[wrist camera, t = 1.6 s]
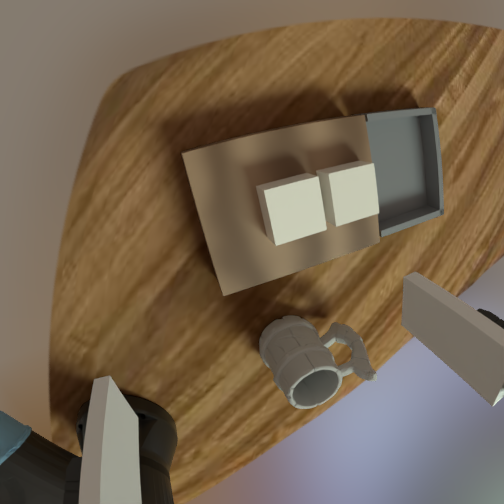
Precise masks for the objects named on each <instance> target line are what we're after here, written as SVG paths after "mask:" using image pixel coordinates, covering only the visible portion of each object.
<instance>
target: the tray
mask: <svg viewBox="0 0 504 504" xmlns="http://www.w3.org/2000/svg"><path fill="white" fill-rule="evenodd" d="M355 115H365V121H366V127H367V133H368V139H369V145H370V152H371V159H372V163H374V168H375V176H376V184H377V194H378V204H379V213H378V224H379V236H380V237H384V236H386V235H389V234H392V233H395V232H397V231H400V230H403V229H406V228H408V227H411V226H414V225H416V224H419V223H422V222H425V221H427V220H430V219H433V218H435V217H438V216H441V215H443V214H444V201H443V176H442V161H441V150H440V140H439V131H438V123H437V116H436V109H435V108H409V109H398V110H388V111H379V112H370V113H363V114H355ZM352 116H353V115H352Z"/></svg>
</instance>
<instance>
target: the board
mask: <svg viewBox="0 0 504 504" xmlns="http://www.w3.org/2000/svg"><path fill="white" fill-rule="evenodd" d="M181 156H182V160H183V163H184V167H185V171H186V174H187V178H188V182H189V185H190V189H191V193H192V196H193V200H194V203H195V207H196V210H197V214H198V217H199V221H200V224H201V227H202V231H203V234H204V238H205V241H206V244H207V248H208V251H209V254H210V258H211V261H212V264H213V268H214V271H215V274H216V277H217V280H218V283H219V286H220V288H221V291H222V294H223V296H226V295H229V294H232V293H235V292H238V291H241V290H244V289H247V288H250V287H253V286H256V285H259V284H262V283H265V282H268V281H271V280H274V279H277V278H280V277H283V276H286V275H289V274H292V273H295V272H298V271H301V270H304V269H307V268H310V267H312V266H315V265H318V264H321V263H324V262H327V261H330V260H332V259H335V258H338V257H341V256H344V255H346V254H349V253H352V252H355V251H358V250H360V249H363V248H366V247H369V246H371V245H374V244H377V243H380V238H379V224H378V214H375V215H372V216H369V217H366V218H363V219H359V220H356V221H353V222H350V223H347V224H344V225H340V226H337V227H336V226H334V225H332V224H330V223H329V222H327V221H326V227H327V230H325V231H322V232H318V233H315V234H312V235H309V236H306V237H303V238H299V239H296V240H293V241H290V242H287V243H284V244H281V245H277V246H275V245H274V244H273V243H272V242H271V241H270V240H269V239H268V238H267V234H266V229H265V225H264V220H263V216H262V211H261V207H260V202H259V198H258V194H257V189H256V186H258V185H262V184H265V183H269V182H273V181H277V180H281V179H284V178H288V177H292V176H296V175H300V174H304V173H309V174H312V175H316V176H317V173H316V170H321V169H325V168H329V167H333V166H338V165H342V164H346V163H351V162H355V161H365V162H370V163H372V159H371V152H370V145H369V139H368V133H367V127H366V121H365V115H353V116H341V117H334V118H328V119H322V120H316V121H310V122H305V123H299V124H294V125H289V126H284V127H279V128H274V129H269V130H265V131H260V132H256V133H251V134H247V135H243V136H238V137H234V138H230V139H226V140H222V141H218V142H215V143H211V144H207V145H203V146H200V147H196V148H192V149H189V150H185V151H182V152H181Z"/></svg>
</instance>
